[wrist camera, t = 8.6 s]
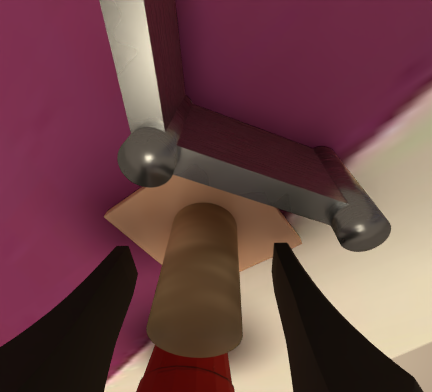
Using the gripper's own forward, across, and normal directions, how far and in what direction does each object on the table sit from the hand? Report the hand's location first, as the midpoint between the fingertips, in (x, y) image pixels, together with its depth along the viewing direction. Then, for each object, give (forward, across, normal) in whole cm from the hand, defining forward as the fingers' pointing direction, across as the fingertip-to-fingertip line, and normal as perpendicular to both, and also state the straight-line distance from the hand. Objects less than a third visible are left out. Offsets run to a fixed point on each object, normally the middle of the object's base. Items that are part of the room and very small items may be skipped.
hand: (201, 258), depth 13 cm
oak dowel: (+2, 0, 0) cm, 2 cm away
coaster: (+3, 0, 0) cm, 3 cm away
